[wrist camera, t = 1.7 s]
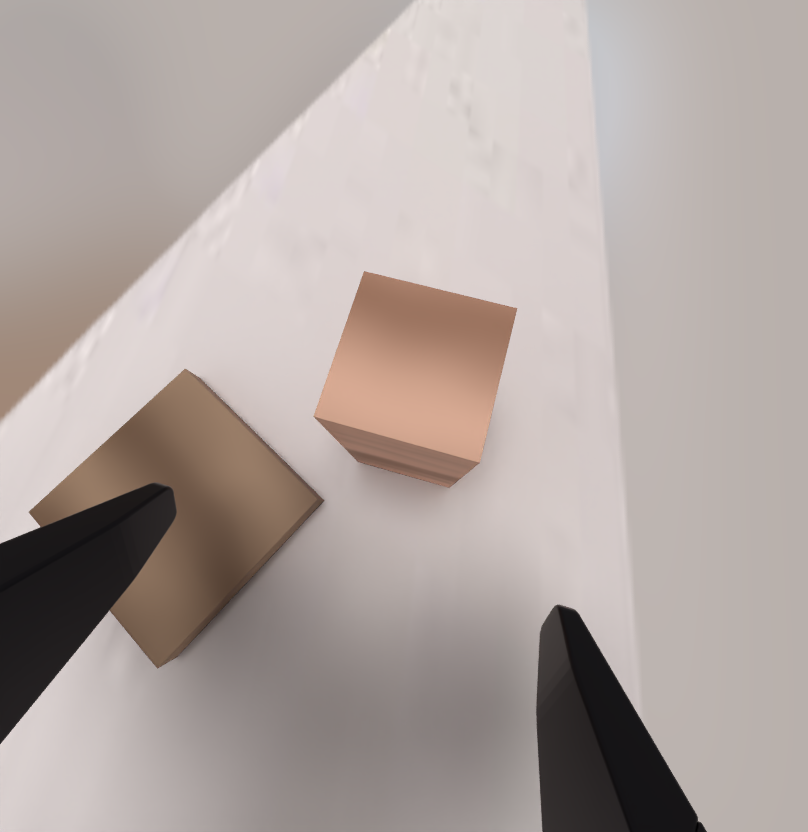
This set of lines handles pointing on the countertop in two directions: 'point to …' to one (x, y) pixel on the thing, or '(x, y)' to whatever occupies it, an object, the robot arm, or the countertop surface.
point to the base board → (190, 509)
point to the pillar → (416, 378)
